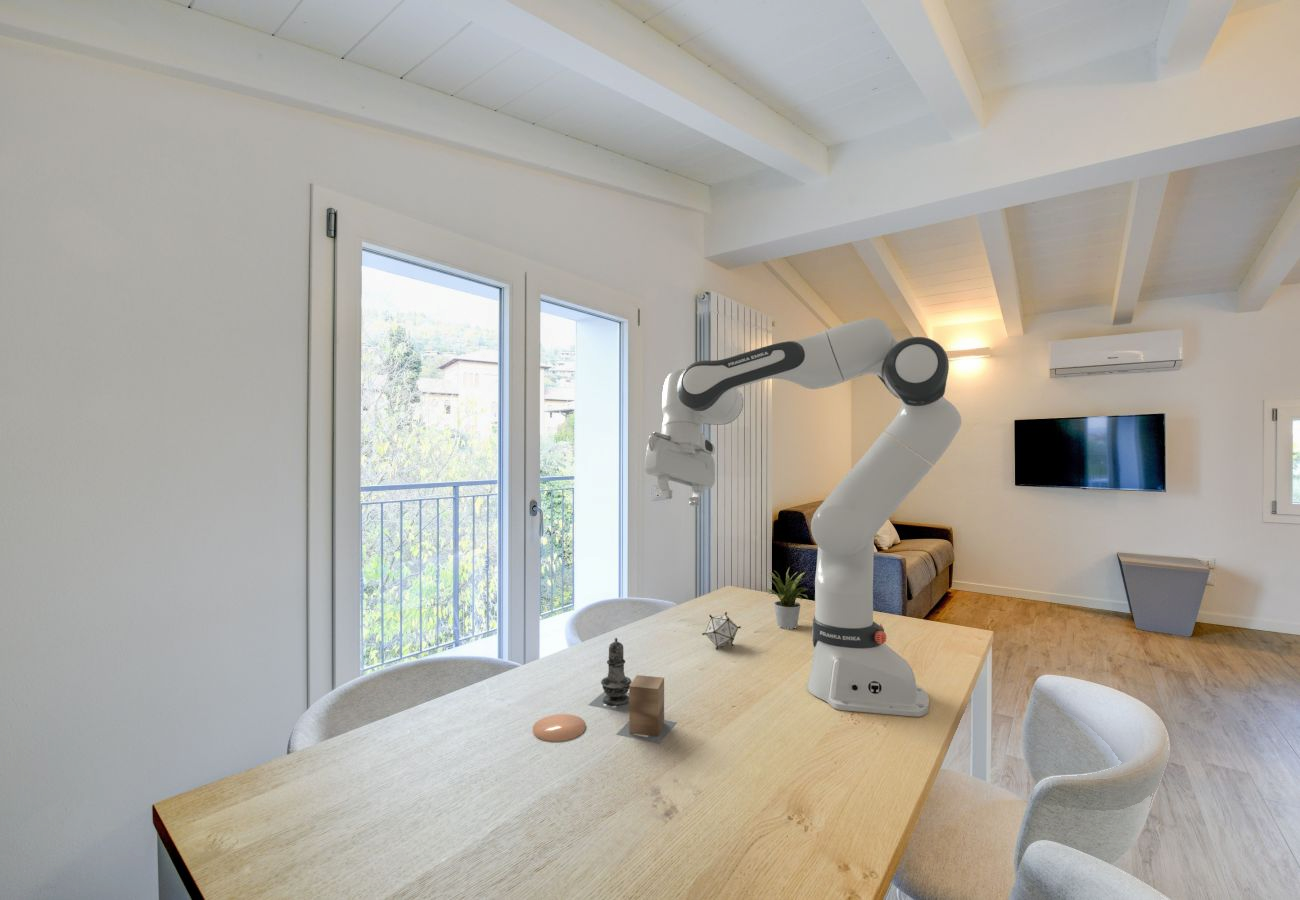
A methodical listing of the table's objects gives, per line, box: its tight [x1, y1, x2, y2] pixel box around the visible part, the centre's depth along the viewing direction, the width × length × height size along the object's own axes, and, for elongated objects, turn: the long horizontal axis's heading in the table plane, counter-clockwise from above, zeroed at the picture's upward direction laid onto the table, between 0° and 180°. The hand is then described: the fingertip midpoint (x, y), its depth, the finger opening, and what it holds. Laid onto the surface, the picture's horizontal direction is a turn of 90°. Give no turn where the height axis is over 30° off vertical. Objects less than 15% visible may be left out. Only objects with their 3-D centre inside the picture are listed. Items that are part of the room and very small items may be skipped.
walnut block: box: [628, 674, 665, 737], centre depth 100 cm, size 5×5×8 cm
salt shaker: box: [600, 637, 632, 706], centre depth 111 cm, size 6×6×12 cm
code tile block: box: [616, 719, 678, 745], centre depth 100 cm, size 8×8×1 cm
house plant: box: [760, 566, 810, 628], centre depth 158 cm, size 14×14×16 cm
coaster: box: [532, 713, 586, 742], centre depth 100 cm, size 9×9×1 cm
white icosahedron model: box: [701, 611, 742, 650], centre depth 142 cm, size 9×8×10 cm
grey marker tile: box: [587, 691, 629, 713], centre depth 111 cm, size 8×8×1 cm
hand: (681, 502), depth 123 cm, fingers open, 8 cm apart
